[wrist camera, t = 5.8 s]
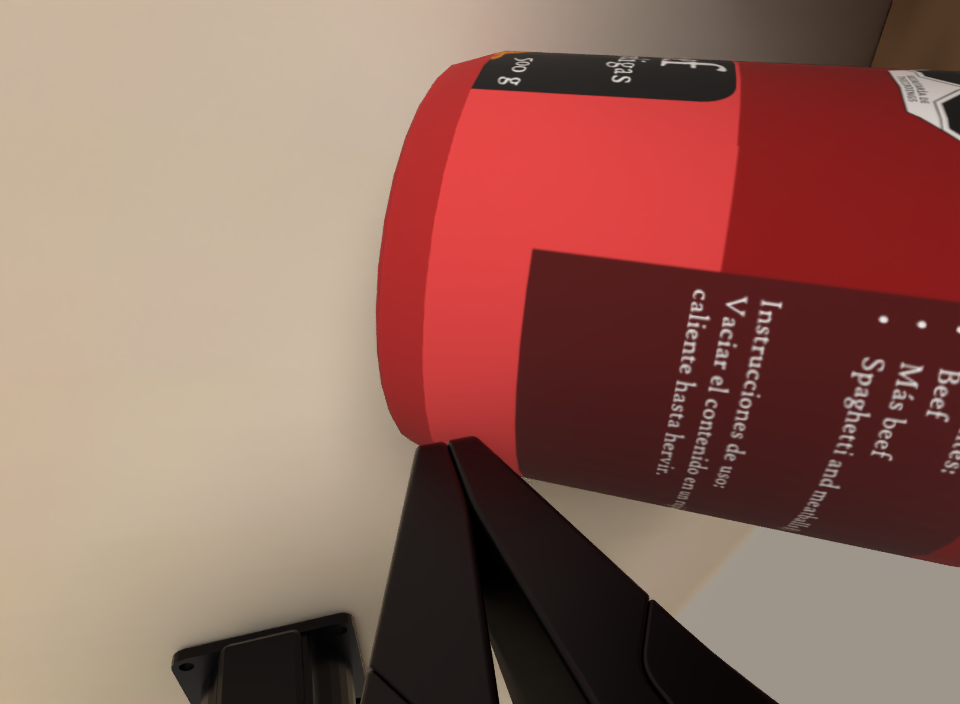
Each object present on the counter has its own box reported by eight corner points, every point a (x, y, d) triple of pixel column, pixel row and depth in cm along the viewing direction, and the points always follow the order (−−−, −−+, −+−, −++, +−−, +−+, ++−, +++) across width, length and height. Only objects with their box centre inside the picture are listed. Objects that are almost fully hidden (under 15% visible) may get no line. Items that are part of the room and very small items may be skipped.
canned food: (511, 159, 17) (977, 201, 15) (454, 455, 16) (943, 553, 14) (435, -66, 10) (1343, -60, 7) (321, 451, 9) (1327, 662, 6)
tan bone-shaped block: (793, 380, 23) (851, 436, 21) (615, 413, 22) (656, 476, 20) (1012, -220, 14) (1164, -240, 11) (718, -228, 12) (822, -252, 10)
